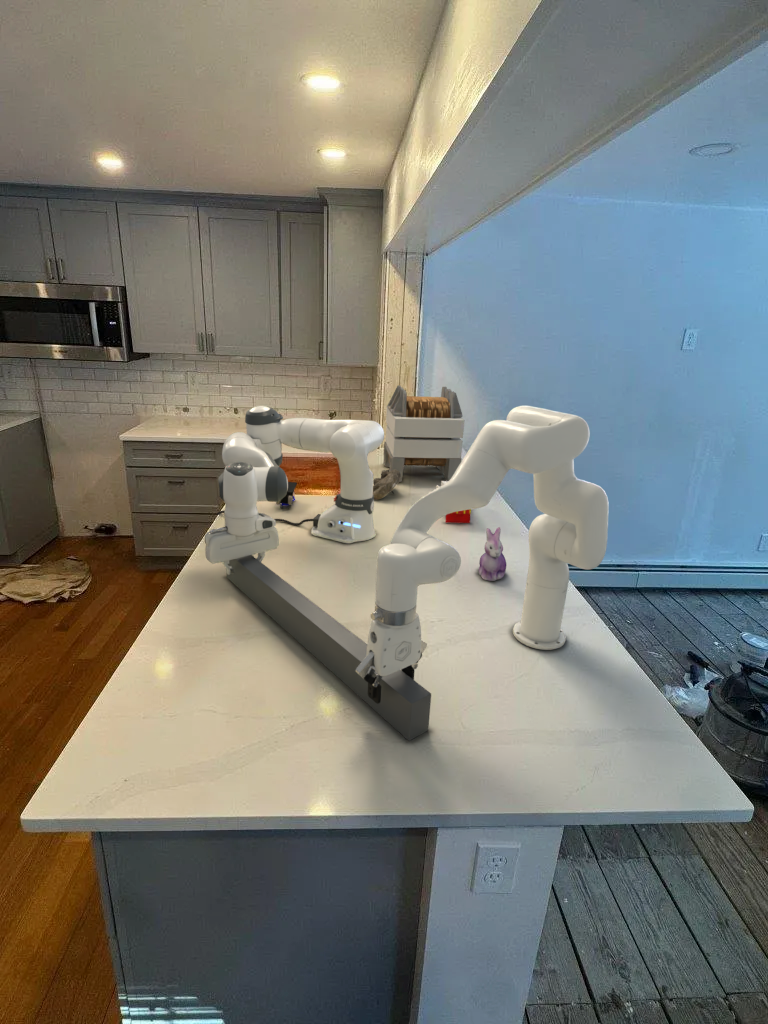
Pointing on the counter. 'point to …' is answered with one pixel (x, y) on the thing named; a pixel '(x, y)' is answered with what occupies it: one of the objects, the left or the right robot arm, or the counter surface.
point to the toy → (457, 513)
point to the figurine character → (288, 495)
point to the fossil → (385, 483)
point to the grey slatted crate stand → (424, 432)
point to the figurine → (492, 557)
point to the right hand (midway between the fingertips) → (390, 691)
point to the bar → (333, 645)
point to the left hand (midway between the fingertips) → (244, 569)
